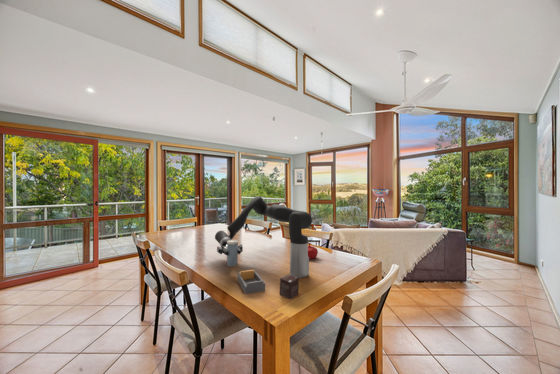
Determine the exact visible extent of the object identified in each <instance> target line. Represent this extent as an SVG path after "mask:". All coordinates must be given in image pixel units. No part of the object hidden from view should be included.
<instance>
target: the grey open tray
mask: <svg viewBox="0 0 560 374" xmlns="http://www.w3.org/2000/svg"><path fill="white" fill-rule="evenodd" d="M237 282H238V284H239V286H240V287H241V289H242V291H243V293H244V294H245V295H249V294H253V293H260V292H265V291H266V282H265V281H264V279H262V277H261V276H260V274H259V273H257V271H256V270H254V278H253V279H246V280H243V278H242V277H241V272H238V273H237Z"/></svg>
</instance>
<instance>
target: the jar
mask: <svg viewBox="0 0 560 374" xmlns="http://www.w3.org/2000/svg"><path fill="white" fill-rule="evenodd" d="M238 246H239V240H237V239H232V240H228V241H227V250H228V256H226V266H227V267H235V266H238V263H239V262H238V261H239V259H238V258H239V257H238V256H239V254H238Z"/></svg>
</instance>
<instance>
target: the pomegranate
mask: <svg viewBox="0 0 560 374" xmlns="http://www.w3.org/2000/svg"><path fill="white" fill-rule="evenodd" d="M318 251H319V250H318V248H317V247H316V246H315V245H311V243H308V257H309V260H314V259H317V257H318V254H319V252H318Z"/></svg>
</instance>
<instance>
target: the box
mask: <svg viewBox="0 0 560 374" xmlns="http://www.w3.org/2000/svg"><path fill="white" fill-rule="evenodd" d="M299 281H300V278H298V277H295V276H292V275H290V273H288V274H286V275H283V276H282V277H280V278H279V295H280V296H281V297H284V298H286V299H288V300H292V299H293V298H295V297H297V296H298V295H299V294H300V292H299V290H300V289H299V288H300V287H299V285H300V283H299Z"/></svg>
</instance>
